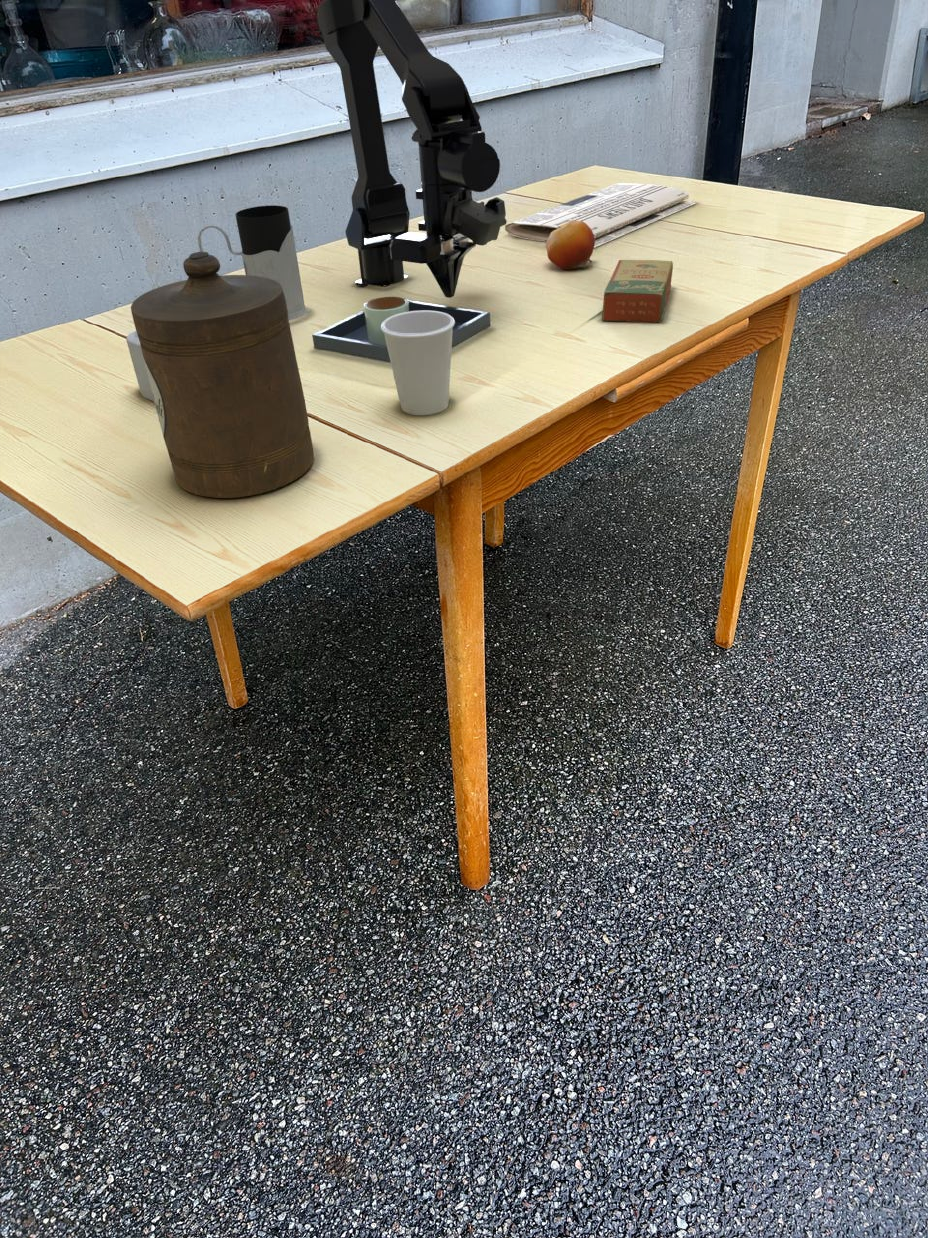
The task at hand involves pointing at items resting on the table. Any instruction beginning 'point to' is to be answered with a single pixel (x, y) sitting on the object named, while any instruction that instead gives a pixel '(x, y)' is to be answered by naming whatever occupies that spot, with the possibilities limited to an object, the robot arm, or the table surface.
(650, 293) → the carton
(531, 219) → the newspaper
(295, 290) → the glass holder
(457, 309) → the tray
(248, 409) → the wooden container
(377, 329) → the teacup
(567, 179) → the table surface
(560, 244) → the fruit
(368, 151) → the robot arm
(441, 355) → the dixie cup
